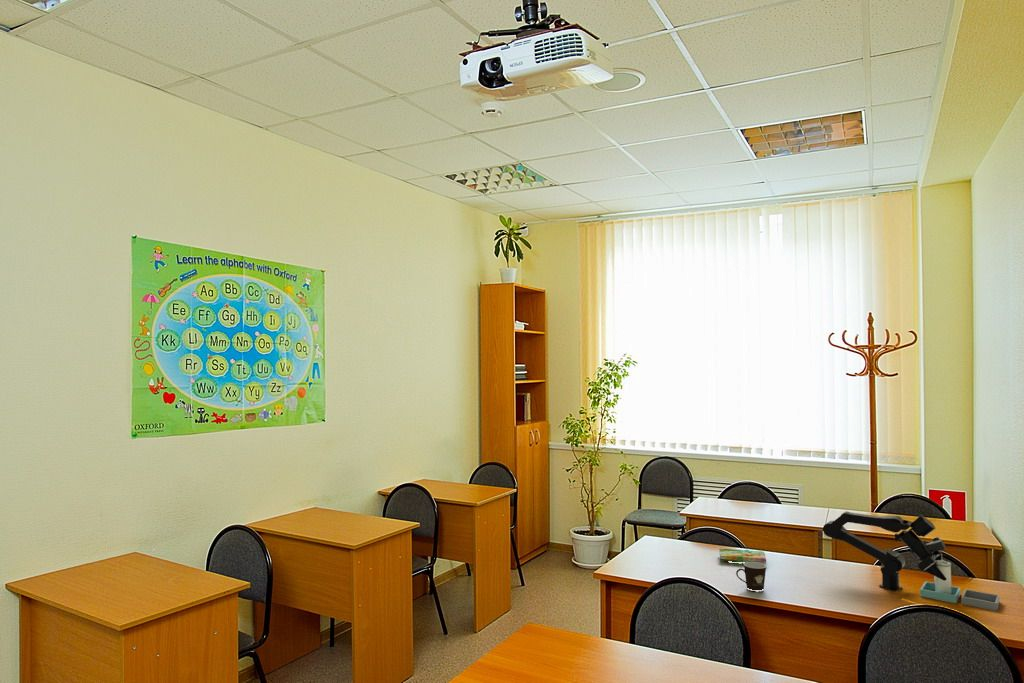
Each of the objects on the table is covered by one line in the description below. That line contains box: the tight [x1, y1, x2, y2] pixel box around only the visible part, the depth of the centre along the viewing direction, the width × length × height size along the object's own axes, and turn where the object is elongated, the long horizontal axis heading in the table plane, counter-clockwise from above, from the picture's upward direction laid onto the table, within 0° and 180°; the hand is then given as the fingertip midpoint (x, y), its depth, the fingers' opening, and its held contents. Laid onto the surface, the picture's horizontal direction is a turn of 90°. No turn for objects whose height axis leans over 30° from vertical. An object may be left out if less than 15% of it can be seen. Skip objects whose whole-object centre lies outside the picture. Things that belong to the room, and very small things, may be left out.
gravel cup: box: [933, 559, 952, 595], centre depth 268 cm, size 6×6×14 cm
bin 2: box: [960, 588, 1001, 612], centre depth 260 cm, size 11×11×4 cm
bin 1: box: [919, 581, 962, 604], centre depth 268 cm, size 12×12×4 cm
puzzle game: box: [719, 548, 767, 565], centre depth 316 cm, size 12×5×20 cm
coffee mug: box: [735, 562, 767, 590], centre depth 278 cm, size 12×9×10 cm
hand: (947, 576), depth 267 cm, fingers open, 9 cm apart
